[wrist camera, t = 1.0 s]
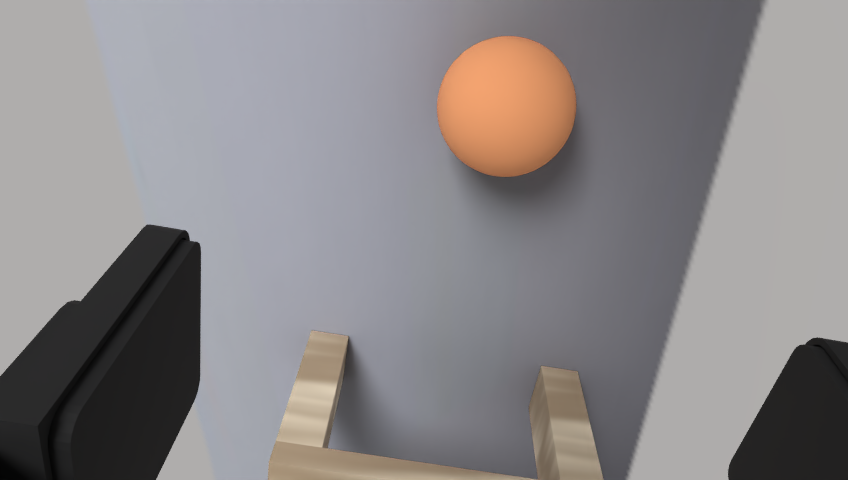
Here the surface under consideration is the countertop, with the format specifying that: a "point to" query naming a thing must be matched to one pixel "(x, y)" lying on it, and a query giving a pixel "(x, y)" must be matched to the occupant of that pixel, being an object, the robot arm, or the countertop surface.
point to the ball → (506, 106)
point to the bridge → (382, 476)
